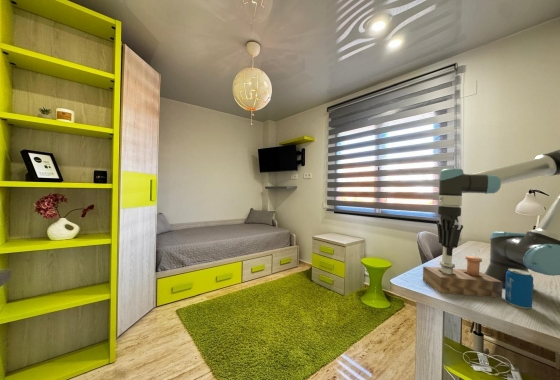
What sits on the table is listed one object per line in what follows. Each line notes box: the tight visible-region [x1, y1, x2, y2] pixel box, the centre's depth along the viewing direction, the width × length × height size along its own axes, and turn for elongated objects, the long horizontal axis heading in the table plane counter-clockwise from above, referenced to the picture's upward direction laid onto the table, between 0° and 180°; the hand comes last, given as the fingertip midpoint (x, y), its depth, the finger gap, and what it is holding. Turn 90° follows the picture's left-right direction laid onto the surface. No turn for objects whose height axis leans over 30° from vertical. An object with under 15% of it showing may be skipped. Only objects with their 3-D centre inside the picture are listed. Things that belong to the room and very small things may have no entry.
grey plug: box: [439, 260, 456, 275], centre depth 89 cm, size 5×5×7 cm
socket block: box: [422, 265, 503, 299], centre depth 88 cm, size 22×12×6 cm, turn 84°
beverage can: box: [504, 269, 534, 310], centre depth 76 cm, size 6×6×12 cm
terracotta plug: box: [465, 255, 483, 277], centre depth 88 cm, size 5×5×7 cm
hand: (446, 262), depth 89 cm, fingers closed
